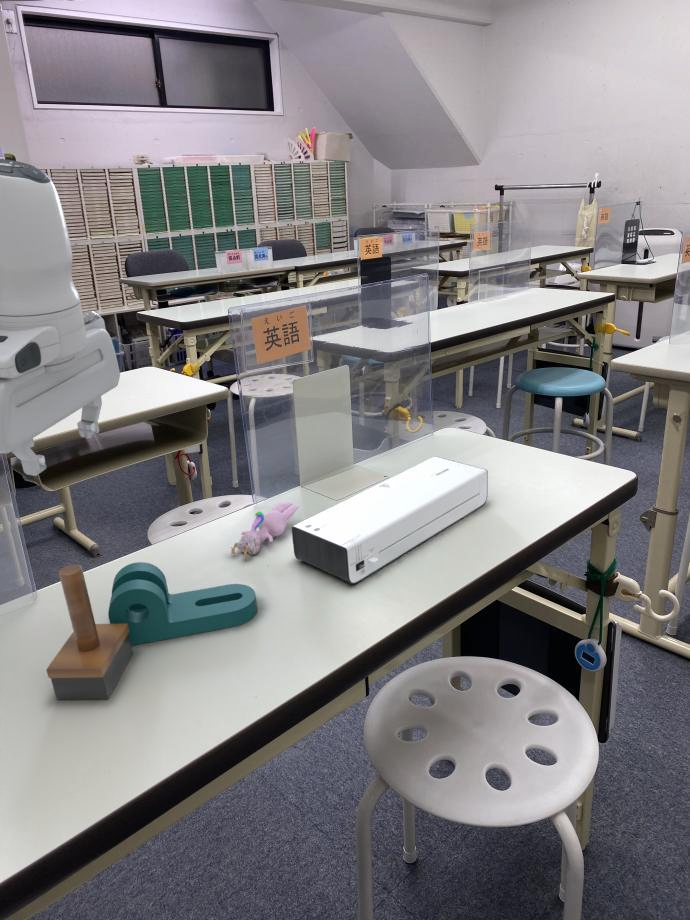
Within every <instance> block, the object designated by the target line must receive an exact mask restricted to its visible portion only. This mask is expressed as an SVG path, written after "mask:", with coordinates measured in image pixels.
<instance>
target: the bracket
mask: <svg viewBox="0 0 690 920" xmlns="http://www.w3.org/2000/svg"><path fill="white" fill-rule="evenodd" d="M256 595H257V594H256V590H255V589H254V588H252V586H250V585H248V584H247V585H246V584H242V583H230V584H224V585H217V586H212V587H206V588H201V589H195V590H190V591H184V592H178V593H173V594H171V593H170V592H169V588H168V583H167V577H166V576H165V574H164V572H163V570H161V569H160V568H159V567H158V566H156V565H154V564H152V563H149V562H145V561H144V562H143V561H137V562H131V563H129V564H127V565H125V566H123V567H122V568H121V569H120V570H119V571H117V572H116V574H115V576H114V578H113V581H112V588H111V596H110V600H109V606H108V613H107V615H108V620H109V624H124V623H128V626H129V631H130V632H129V633H128V634H129V638H130V643H131V647H133V646H137V645H143V644H148V643H154V642H160V641H164V640H169V639H174V638H175V639H176V638H180V637H181V638H182V637H187V636H191V635H196V634H202V633H207V632H208V633H209V632H212V631H213V632H214V631H218V630H223V629H229V628H233V627H239V626H241V625H244V624H245V623H247V622H249V621H251V620H252V619H253V618H254V617H255V616H256V615H257V614H258V613H257V612H258V603H257V596H256Z"/></svg>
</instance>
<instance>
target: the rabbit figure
mask: <svg viewBox="0 0 690 920" xmlns="http://www.w3.org/2000/svg"><path fill="white" fill-rule="evenodd" d="M300 506H301V505H300V504H294V505H293V503H292V502H280V503H278V504H276V505H275V506H273V508H272V509H271V510H270V511H267V512H266V513H265V514H264V513H263V511H259V510H258V511H257V512H255V514H254V516H255V518H254V520H253V522H252V525H251V528H250V530H244V531H242V532H241V533H240V534H241V535H242V536H241V538H240V540H238V542H234V544H233V547H232V546H231V547H230V548H231V554H230V555H231V556H232V555H233V556H237V554H236V552H235V549H236V548H237V549H238V550H239V551H240V552H242V553H243V556H242V558H243V559H244V558H245V560H246V562H247V560H248V559H249V557H248V554H249V555H256V554H257V553H258V552H259V550H260V548H261V544H262V543H264V542H265V541H266V539H268V541H269V543H273V542H274V539H273V538H276V537H279V536H281V535H282V534H283V533H284V532H285V530H286V526H287V523H288V521H289V520H290V519H291V518H292V517H293V516H294V514H295V513H296V511H297V510H298V508H299V507H300ZM257 528H258V529H257ZM247 553H248V554H247Z"/></svg>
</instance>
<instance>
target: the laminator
mask: <svg viewBox="0 0 690 920" xmlns="http://www.w3.org/2000/svg"><path fill="white" fill-rule="evenodd" d="M488 473H489V472H488V469H486V468H482V467H478V466H475V465H471V464H466V463H463V462H459V461H455V460H451V459H447V458H443V457H440V456H436V455H435V456H433V457H431V458H429V459H427V460H424V461H423V462H420V463H419V464H417V465H415V466H413V467H411V468H408V469H406V470H405V471H403V472H400V473H398V474H396V475H395V476H393V477H390V478H388V479H386V480H384V481H383V482H380V483H378V484H376V485H373V486H372V487H370V488H368V489H366V490H364V491H362V492H360V493H358V494H356V495H354V496H351V497H350V498H348V499H346V500H344V501H342V502H340V503H338V504H335V505H334V506H332V507H329V508H327V509H325V510H323V511H321V512H320V513H317V514H315V515H313V516H311V517H309V518H307V519H305V520H302V521H301V522H299V523H297V524H295V525H292V526H291V536H292V537H291V538H292V547H293V554H294V557H295V558H296V560H298V561H302V562H305V563H306V564H309V565H311V566H313V567H314V568H317V569H319V570H322V571H324V572H326V573H327V574H330V575H332V576H335V577H336V578H339V579H341V580H343V581H346V582H347V583H349V584H350V585H357V584H358V583H360V582H362V581H364V580H365V579H367V578H368V577H370V576H372V575H374V574H375V573H377V572H378V571H380V570H381V569H383V568H384V567H386V566H388V565H389V564H391V563H394V561H396V560H397V559H399V558H400V557H402V556H404V555H406V554H407V553H409V552H411V551H413V550H414V549H416V548H417V547H418V546H420V545H422V544H423V543H425V542H427V541H429V540H431V539H432V538H434V537H435V536H437V535H438V534H440V533H441V532H443V531H444V530H446V529H448V528H449V527H451V526H453V525H454V524H456V523H457V522H459V521H461V520H462V519H464V518H467V516H469V515H471V514H472V513H475V512H476V511H478V510H479V509H481V508H482V507H484V505H485V504H486V503H487V500H488V485H489V484H488V483H489V481H488V480H489V478H488V477H489V474H488Z"/></svg>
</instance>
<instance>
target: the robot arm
mask: <svg viewBox="0 0 690 920" xmlns="http://www.w3.org/2000/svg"><path fill="white" fill-rule="evenodd" d="M58 193H59V192H58V191H57V189H56V187H55V184H54V183H53V181H52V179H51V177H50V176H48V174H47V173H45V172H44V171H43V170H41V168H40V169H39V168H38V167H36V166H35V165H32V164H29V163H26V162H21V161H18V160H12V159H6V158H0V454H9V453H12V454H13V455H14V456H15V457H16V458H17V459H19V460H20V463H21V466H22V471H23V472H24V474H26V475H28V476H33V477H37V476H38V475H39V474H41V473H43V472H45V470H47V464H46V458H45V455H42V454H36V453H35V452H34V450H33V449H32V448H33V447H35V440H34V438H35V437H37V436H39V435H40V434H42V433H44V432H46V431H47V430H48V429H50V428H51V427H53V426H55V425H56V424H58V423H60V422H62V421H63V420H65V419H67V418H68V417H69V416H71V415H73V414H74V413H76V412H77V411H79V410H81V416H80V420H79V421H78V422H77V423H76V425H77V429H78V435H79V436H80V437H81V438H87V439H92V438H93V437H94V436H96V435H98V434H99V433H100V426H99V419H100V414H101V409H102V405H103V401H102V396H103V395H105V394H107V393H109V392H110V391H112V390H113V389H115V388H117V387H118V385H119V382H120V378H121V370H120V367H119V361H118V358H117V357H118V356H117V354H116V350H115V347H114V343H113V340H112V337H111V336H110V333H109V332H108V330H107V329H106V324H105V323H106V322H105V320H104V318H103V317H102V316H101V315H100V314H98V313H96V312H95V311H93V310H88V311H85V312H83V308H82V302H81V297H80V294H79V292H78V290H77V288H76V285H75V283H74V280H73V273H72V272H73V270H72V268H73V260H74V257H73V249H72V245H71V240H70V234H69V230H68V225H67V221H66V217H65V212H64V209H63V206H62V202H61V200H60V199H61V198H60V196H59V194H58Z"/></svg>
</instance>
